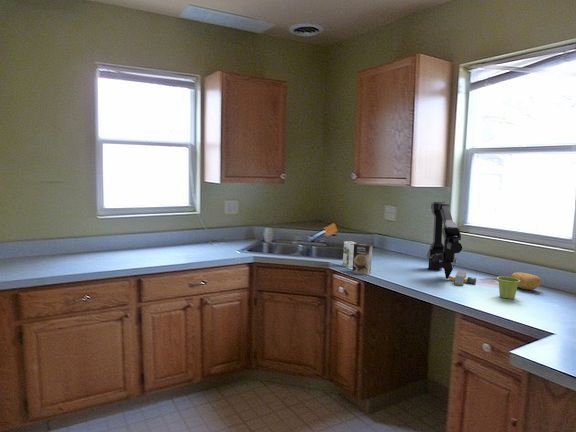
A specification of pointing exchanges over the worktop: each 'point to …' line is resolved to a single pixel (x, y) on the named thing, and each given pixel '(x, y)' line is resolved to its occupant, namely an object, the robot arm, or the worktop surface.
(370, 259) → the coffee box
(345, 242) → the syrup box
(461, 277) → the housing
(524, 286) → the potato
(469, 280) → the plug
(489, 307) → the worktop surface
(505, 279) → the plant pot
